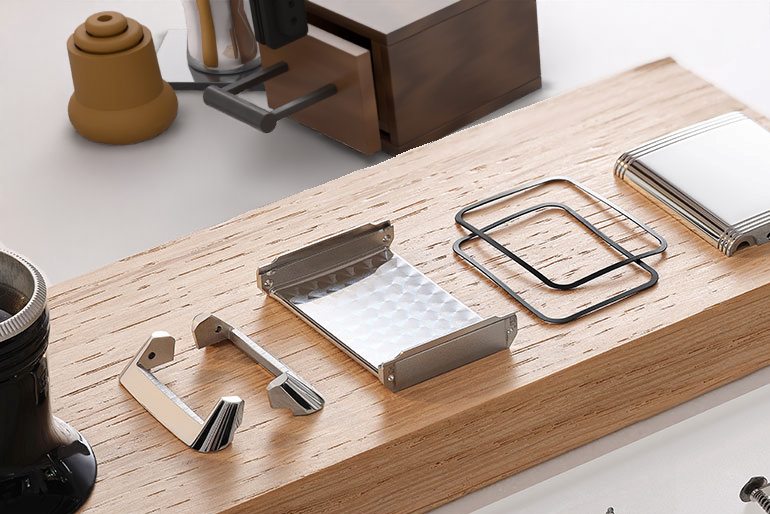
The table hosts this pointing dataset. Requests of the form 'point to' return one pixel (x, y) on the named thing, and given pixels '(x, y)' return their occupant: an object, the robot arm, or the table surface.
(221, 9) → the beer glass
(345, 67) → the drawer
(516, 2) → the cabinet
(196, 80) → the coaster
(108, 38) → the ornamental finial
